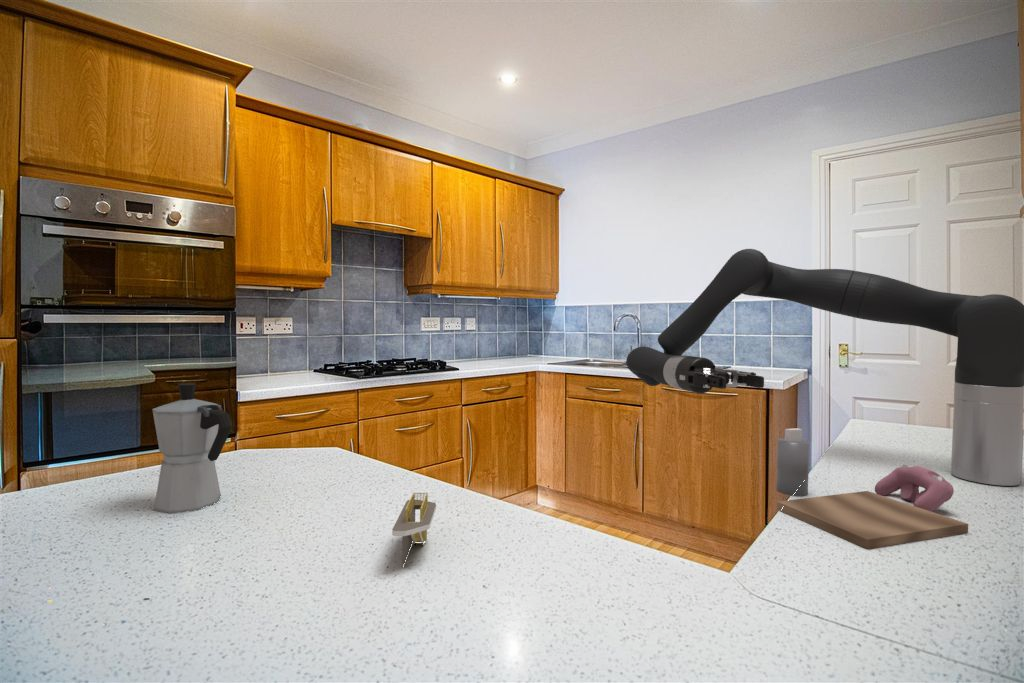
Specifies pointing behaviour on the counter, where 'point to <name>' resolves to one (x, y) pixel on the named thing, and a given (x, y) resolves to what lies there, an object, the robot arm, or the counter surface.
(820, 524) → the walnut board
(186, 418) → the coffee maker
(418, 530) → the platform
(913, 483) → the video game controller
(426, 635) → the counter surface
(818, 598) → the counter surface
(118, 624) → the counter surface
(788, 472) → the grey cylinder with tab
